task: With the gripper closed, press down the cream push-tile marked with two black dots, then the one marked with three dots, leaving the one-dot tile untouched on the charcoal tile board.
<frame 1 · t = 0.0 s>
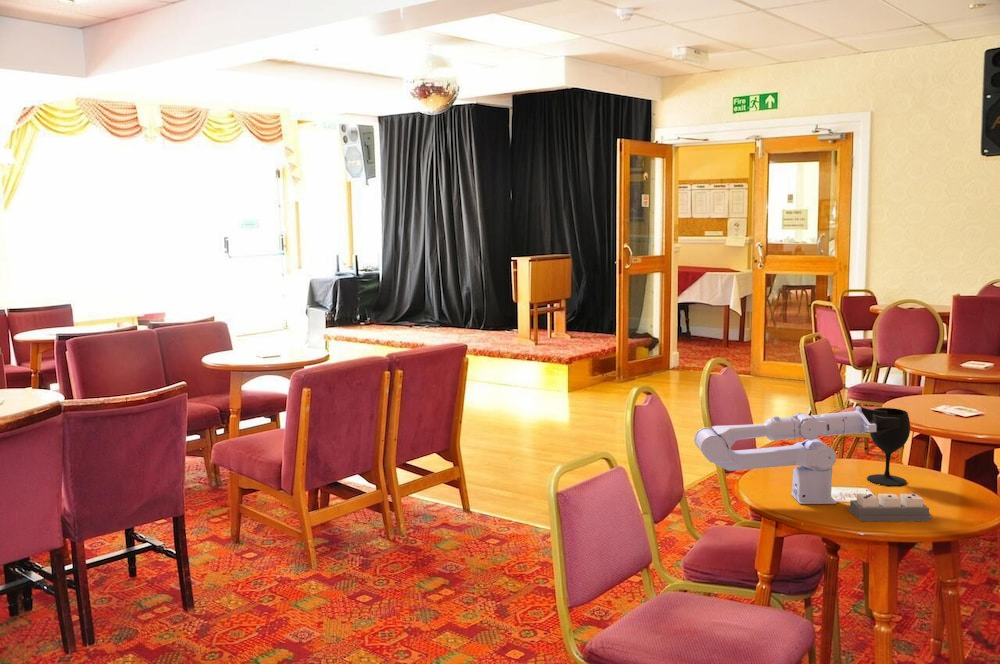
hand: (893, 418, 234), 22 cm above the table, tool horizontal, fingers open, 7 cm apart
pencil: (921, 508, 231), on the table
tile one: (889, 500, 224), point 4 cm above the table, slide at 0.0 cm
tile board: (888, 515, 225), on the table
tile two: (911, 500, 224), point 4 cm above the table, slide at 0.0 cm
tile three: (867, 500, 224), point 4 cm above the table, slide at 0.0 cm
wine glass: (886, 481, 252), on the table
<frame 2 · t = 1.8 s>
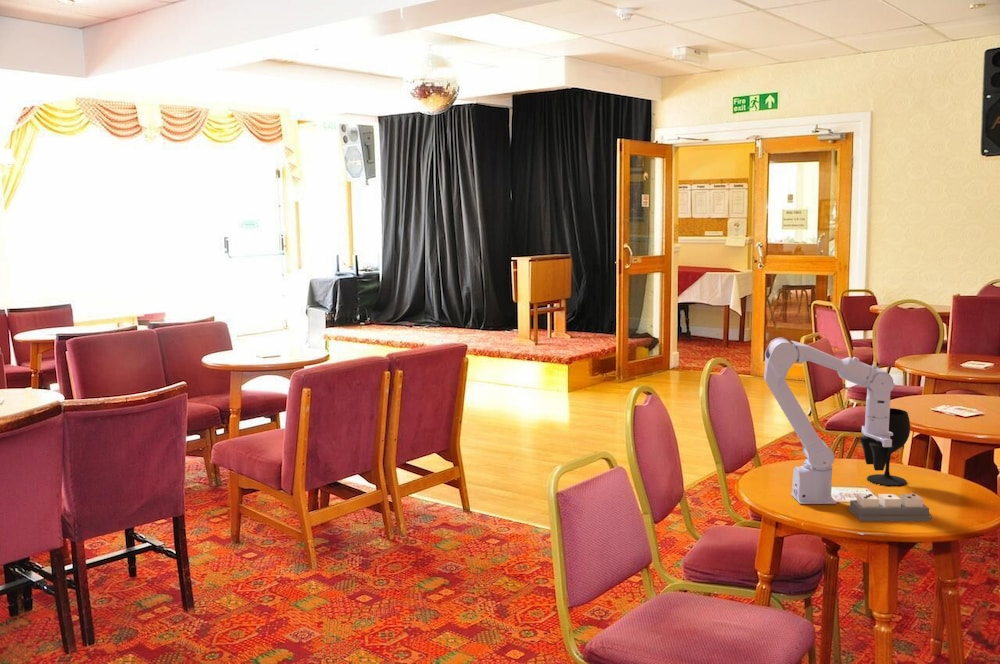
hand: (874, 467, 233), 9 cm above the table, tool pointing down, fingers open, 5 cm apart
nothing on the table moved.
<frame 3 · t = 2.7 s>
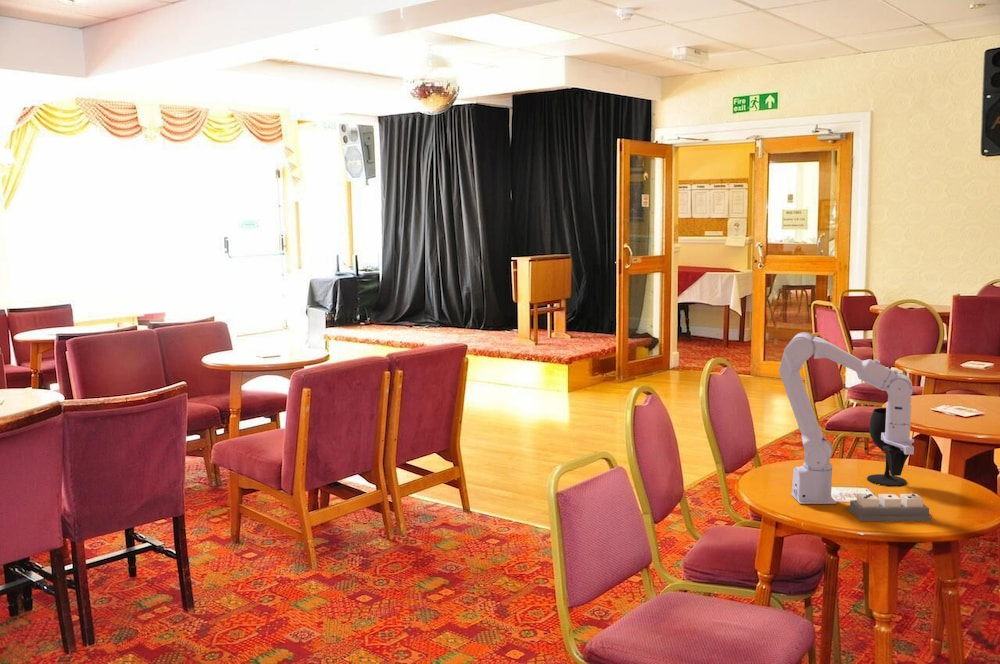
hand: (895, 474, 228), 9 cm above the table, tool pointing down, fingers closed
nothing on the table moved.
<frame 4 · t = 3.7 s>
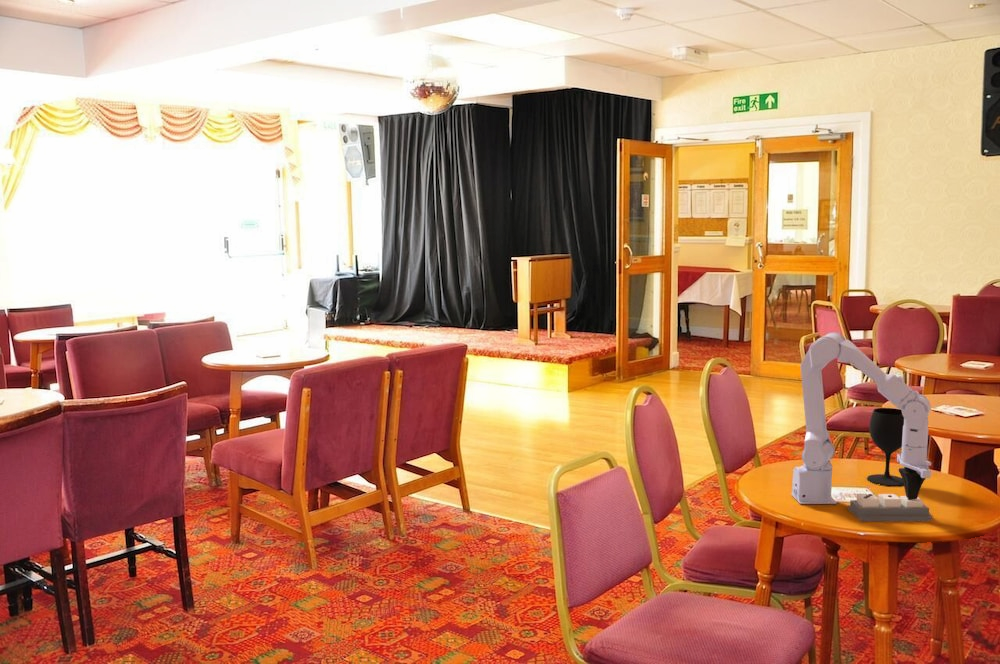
hand: (911, 497, 224), 4 cm above the table, tool pointing down, fingers closed, pressing on tile two
tile two: (911, 502, 224), point 3 cm above the table, slide at 0.5 cm, touching gripper
everything else where it was.
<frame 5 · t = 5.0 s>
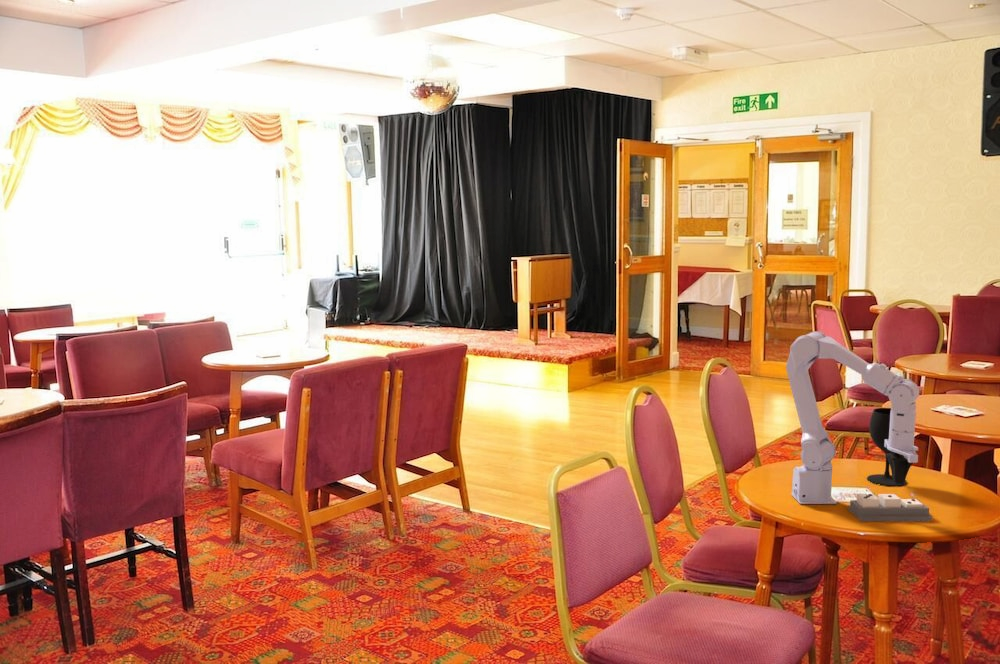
hand: (898, 482, 224), 8 cm above the table, tool pointing down, fingers closed
tile two: (911, 505, 224), point 2 cm above the table, slide at 1.4 cm
everything else where it was.
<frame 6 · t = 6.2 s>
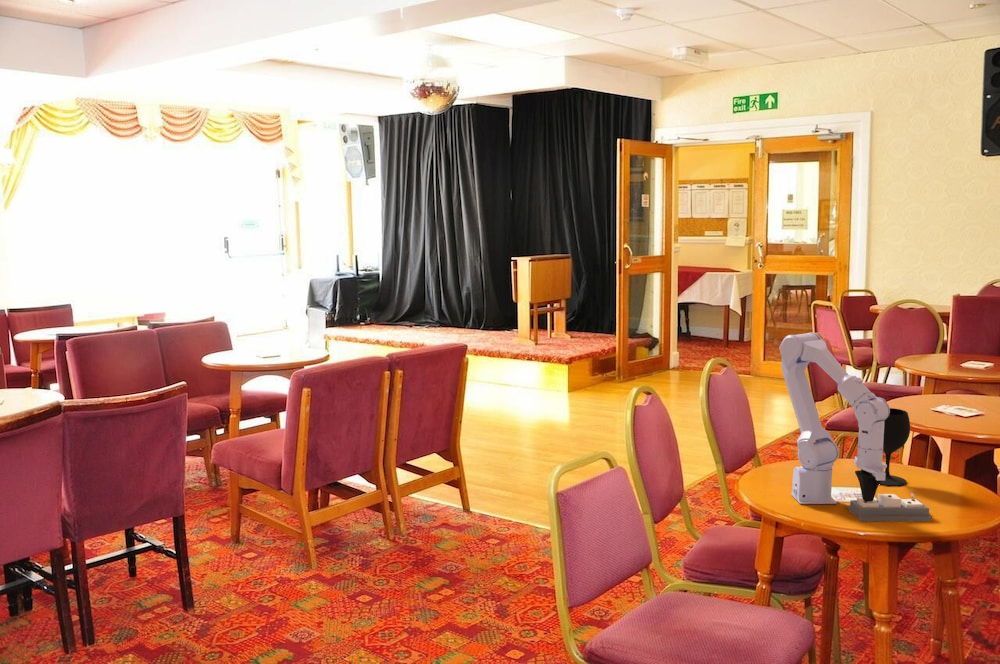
hand: (867, 500, 224), 4 cm above the table, tool pointing down, fingers closed, pressing on tile three
tile three: (867, 505, 224), point 3 cm above the table, slide at 1.1 cm, touching gripper
everything else where it was.
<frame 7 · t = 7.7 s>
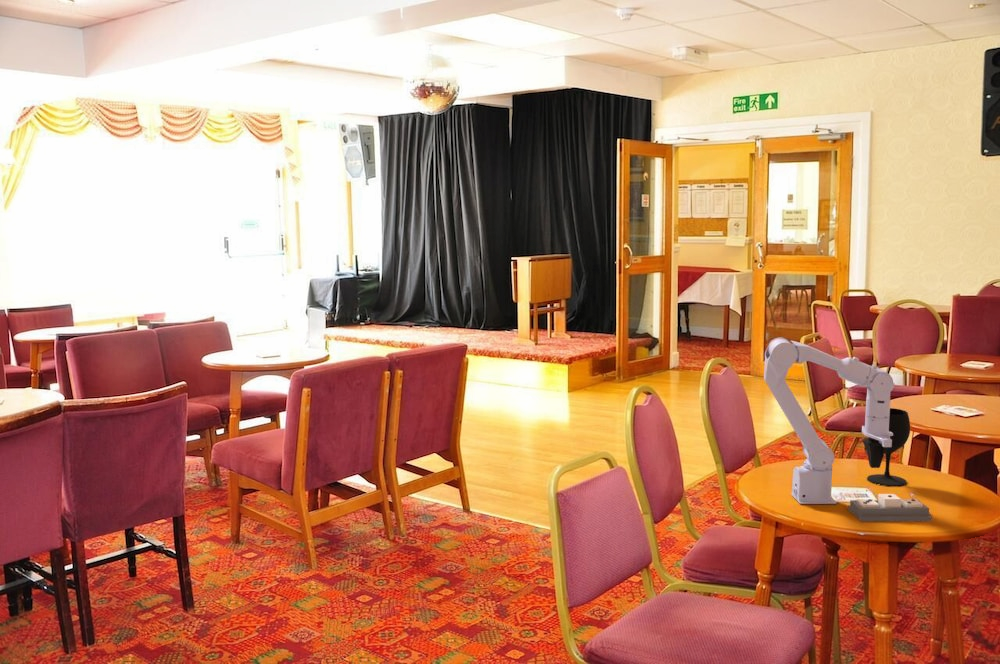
hand: (874, 467, 233), 9 cm above the table, tool pointing down, fingers closed
tile three: (867, 506, 224), point 2 cm above the table, slide at 1.4 cm
everything else where it was.
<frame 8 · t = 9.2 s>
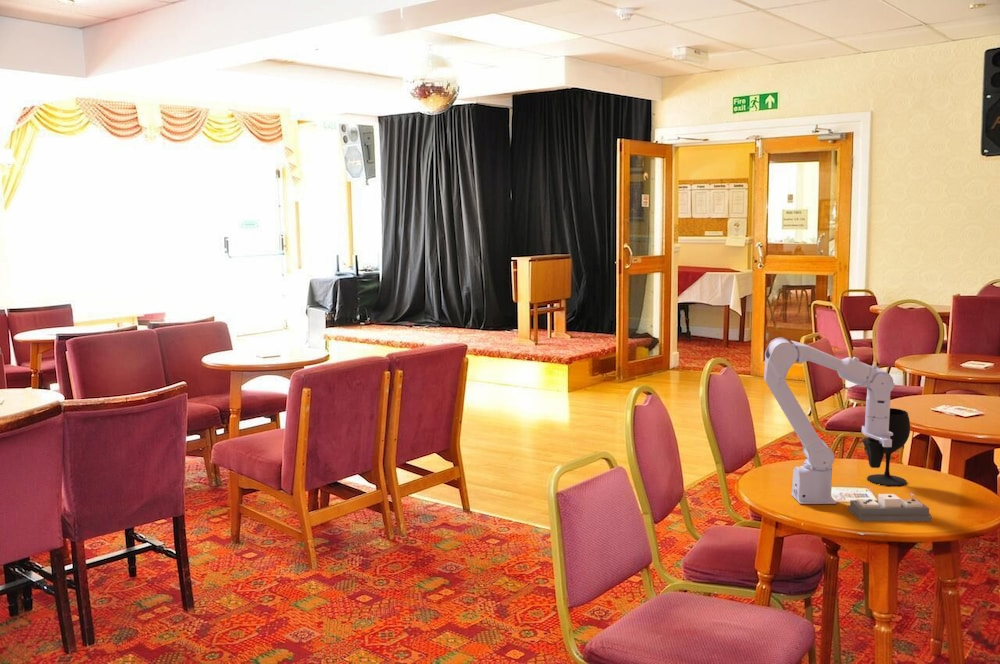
hand: (874, 467, 233), 9 cm above the table, tool pointing down, fingers closed
nothing on the table moved.
at the end: tile two slide at 1.4 cm; tile three slide at 1.4 cm; tile one slide at 0.0 cm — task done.
